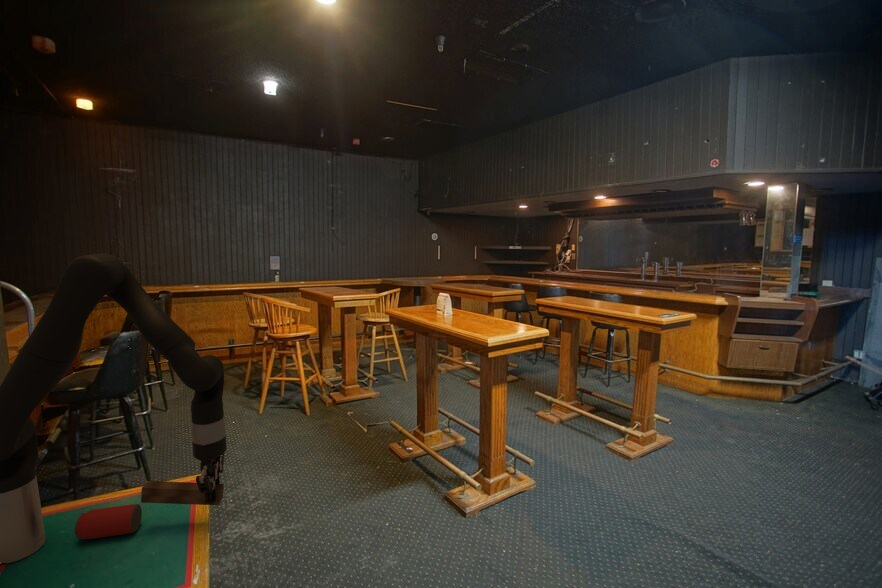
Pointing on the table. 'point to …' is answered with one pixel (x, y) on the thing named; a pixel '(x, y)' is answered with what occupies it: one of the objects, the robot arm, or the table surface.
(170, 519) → the table surface
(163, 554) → the table surface
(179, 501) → the walnut plank
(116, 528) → the beer can
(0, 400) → the robot arm
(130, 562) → the table surface
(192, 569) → the table surface
